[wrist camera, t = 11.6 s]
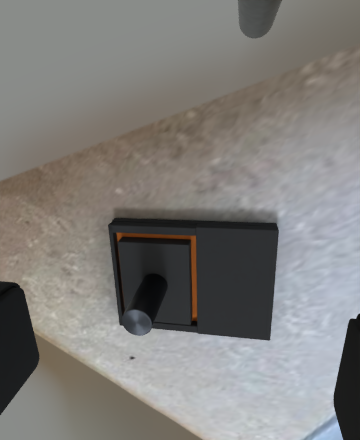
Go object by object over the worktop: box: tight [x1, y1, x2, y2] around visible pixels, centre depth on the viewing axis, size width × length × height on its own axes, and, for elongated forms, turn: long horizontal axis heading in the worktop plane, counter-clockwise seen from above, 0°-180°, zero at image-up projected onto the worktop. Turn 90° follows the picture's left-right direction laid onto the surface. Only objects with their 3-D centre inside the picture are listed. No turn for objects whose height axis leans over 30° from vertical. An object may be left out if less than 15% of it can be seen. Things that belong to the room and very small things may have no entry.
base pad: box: [108, 218, 279, 340], centre depth 33 cm, size 12×16×2 cm
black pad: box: [118, 237, 192, 336], centre depth 30 cm, size 9×7×7 cm
